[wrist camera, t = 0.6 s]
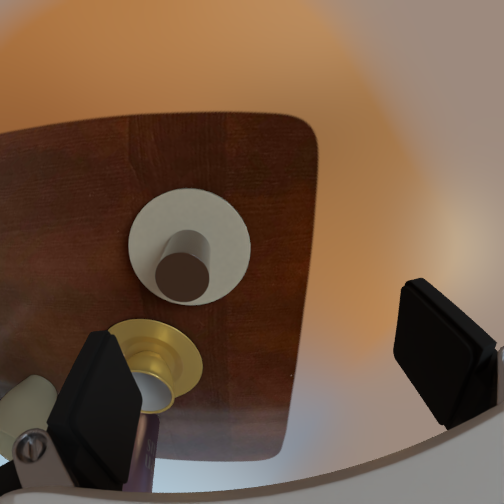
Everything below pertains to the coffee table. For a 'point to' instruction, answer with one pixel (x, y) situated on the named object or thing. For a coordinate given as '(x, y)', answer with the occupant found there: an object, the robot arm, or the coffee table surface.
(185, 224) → the lid
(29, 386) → the mug
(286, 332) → the coffee table surface
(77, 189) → the coffee table surface
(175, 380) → the cup
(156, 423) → the beverage can
